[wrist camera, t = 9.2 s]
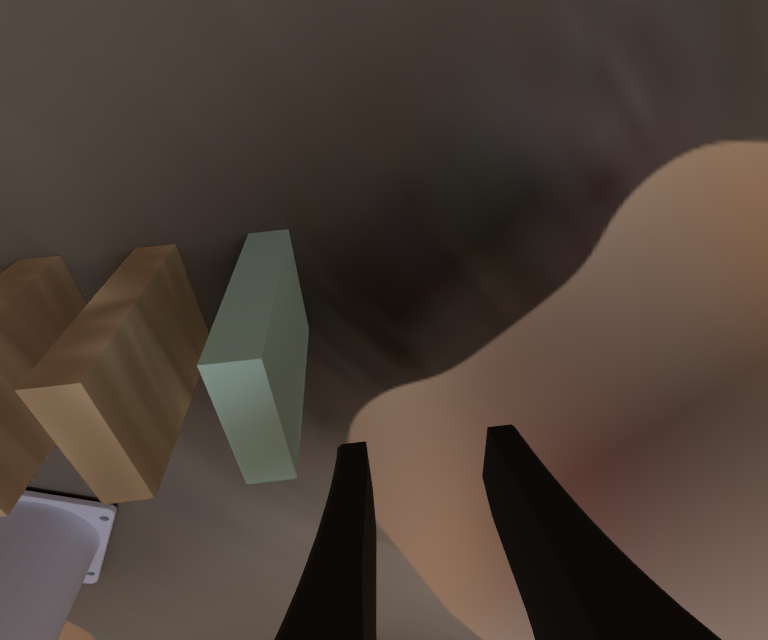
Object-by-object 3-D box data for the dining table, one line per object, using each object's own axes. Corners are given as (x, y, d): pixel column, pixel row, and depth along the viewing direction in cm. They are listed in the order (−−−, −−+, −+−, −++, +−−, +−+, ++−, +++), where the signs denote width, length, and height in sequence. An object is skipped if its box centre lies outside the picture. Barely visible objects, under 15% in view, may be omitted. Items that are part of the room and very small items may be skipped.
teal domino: (288, 229, 17) (261, 358, 11) (309, 329, 20) (297, 478, 14) (248, 233, 17) (197, 365, 11) (274, 333, 20) (246, 484, 14)
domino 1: (60, 255, 17) (-108, 404, 11) (114, 352, 20) (7, 516, 14) (18, 259, 17) (-176, 411, 11) (78, 356, 20) (-45, 522, 14)
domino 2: (175, 244, 17) (80, 383, 11) (212, 342, 20) (154, 498, 14) (134, 247, 17) (14, 390, 11) (177, 345, 20) (103, 504, 14)
